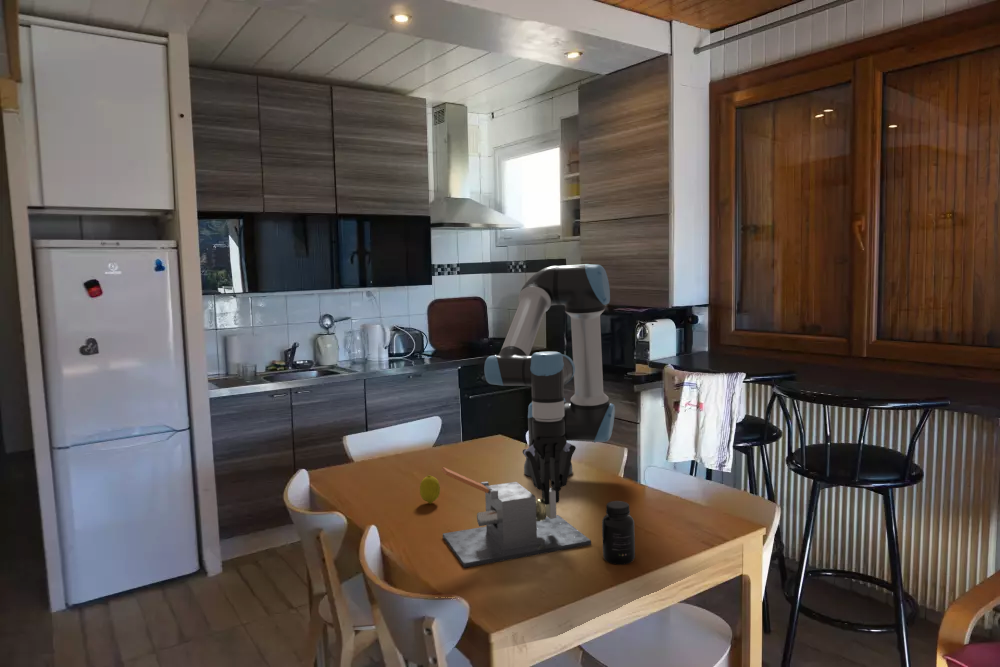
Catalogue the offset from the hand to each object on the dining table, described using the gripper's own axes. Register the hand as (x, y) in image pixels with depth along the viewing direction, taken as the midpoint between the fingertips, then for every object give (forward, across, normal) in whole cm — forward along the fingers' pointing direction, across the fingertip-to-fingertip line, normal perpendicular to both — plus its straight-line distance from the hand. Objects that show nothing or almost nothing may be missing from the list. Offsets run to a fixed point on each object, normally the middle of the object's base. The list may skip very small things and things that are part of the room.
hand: (551, 516), depth 155 cm
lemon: (+5, +21, -34) cm, 40 cm away
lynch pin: (+1, +10, 0) cm, 10 cm away
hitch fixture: (+5, +10, 0) cm, 11 cm away
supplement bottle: (+5, -8, +18) cm, 20 cm away
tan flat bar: (-11, +20, 0) cm, 23 cm away
